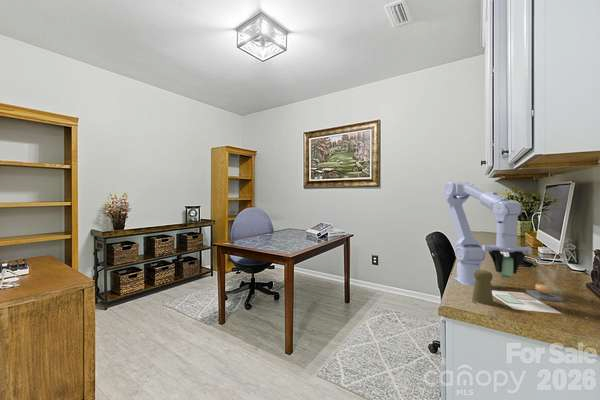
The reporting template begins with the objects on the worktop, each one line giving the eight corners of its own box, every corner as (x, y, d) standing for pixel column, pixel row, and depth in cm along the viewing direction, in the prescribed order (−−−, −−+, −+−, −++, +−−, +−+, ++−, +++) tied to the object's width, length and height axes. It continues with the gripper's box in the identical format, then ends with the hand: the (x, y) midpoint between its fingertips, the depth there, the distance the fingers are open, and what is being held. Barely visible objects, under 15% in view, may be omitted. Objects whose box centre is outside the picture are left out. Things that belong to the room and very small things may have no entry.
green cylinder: (496, 274, 93) (496, 255, 93) (508, 275, 92) (509, 256, 92) (503, 278, 89) (503, 258, 89) (516, 279, 88) (516, 259, 88)
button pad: (525, 294, 95) (525, 289, 95) (547, 295, 94) (547, 290, 94) (539, 301, 88) (539, 295, 88) (563, 303, 87) (563, 297, 87)
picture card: (484, 291, 98) (484, 289, 98) (523, 294, 95) (523, 292, 95) (513, 310, 80) (513, 308, 80) (562, 315, 77) (562, 313, 77)
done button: (532, 288, 94) (532, 283, 94) (546, 289, 93) (546, 284, 93) (540, 292, 89) (541, 287, 89) (555, 293, 89) (555, 288, 89)
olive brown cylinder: (484, 307, 82) (484, 273, 82) (467, 300, 88) (468, 268, 88) (498, 305, 84) (498, 272, 84) (480, 298, 90) (481, 267, 90)
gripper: (489, 234, 88) (488, 273, 88) (538, 236, 85) (537, 277, 85) (479, 232, 95) (478, 268, 95) (524, 234, 92) (523, 271, 92)
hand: (505, 272), depth 90 cm, fingers closed on green cylinder, 4 cm apart
